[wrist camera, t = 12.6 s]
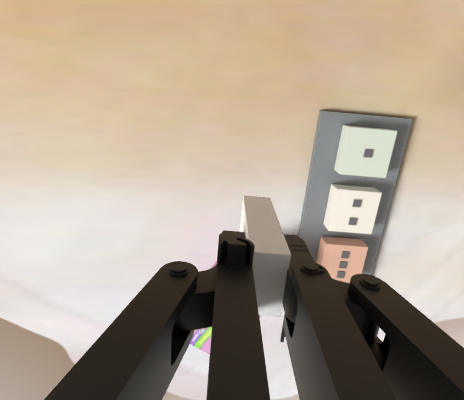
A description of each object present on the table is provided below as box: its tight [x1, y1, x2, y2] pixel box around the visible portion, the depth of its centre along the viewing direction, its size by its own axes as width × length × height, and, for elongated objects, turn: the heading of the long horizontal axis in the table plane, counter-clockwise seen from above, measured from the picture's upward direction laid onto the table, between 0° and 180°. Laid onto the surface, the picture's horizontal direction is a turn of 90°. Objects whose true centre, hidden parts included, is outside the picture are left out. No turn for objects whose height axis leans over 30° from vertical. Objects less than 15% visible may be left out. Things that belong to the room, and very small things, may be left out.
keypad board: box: [298, 111, 413, 275], centre depth 45 cm, size 25×12×1 cm, turn 175°
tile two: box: [323, 184, 382, 234], centre depth 43 cm, size 6×6×3 cm
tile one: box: [334, 125, 397, 178], centre depth 41 cm, size 6×6×3 cm
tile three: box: [316, 236, 368, 283], centre depth 46 cm, size 6×6×3 cm
